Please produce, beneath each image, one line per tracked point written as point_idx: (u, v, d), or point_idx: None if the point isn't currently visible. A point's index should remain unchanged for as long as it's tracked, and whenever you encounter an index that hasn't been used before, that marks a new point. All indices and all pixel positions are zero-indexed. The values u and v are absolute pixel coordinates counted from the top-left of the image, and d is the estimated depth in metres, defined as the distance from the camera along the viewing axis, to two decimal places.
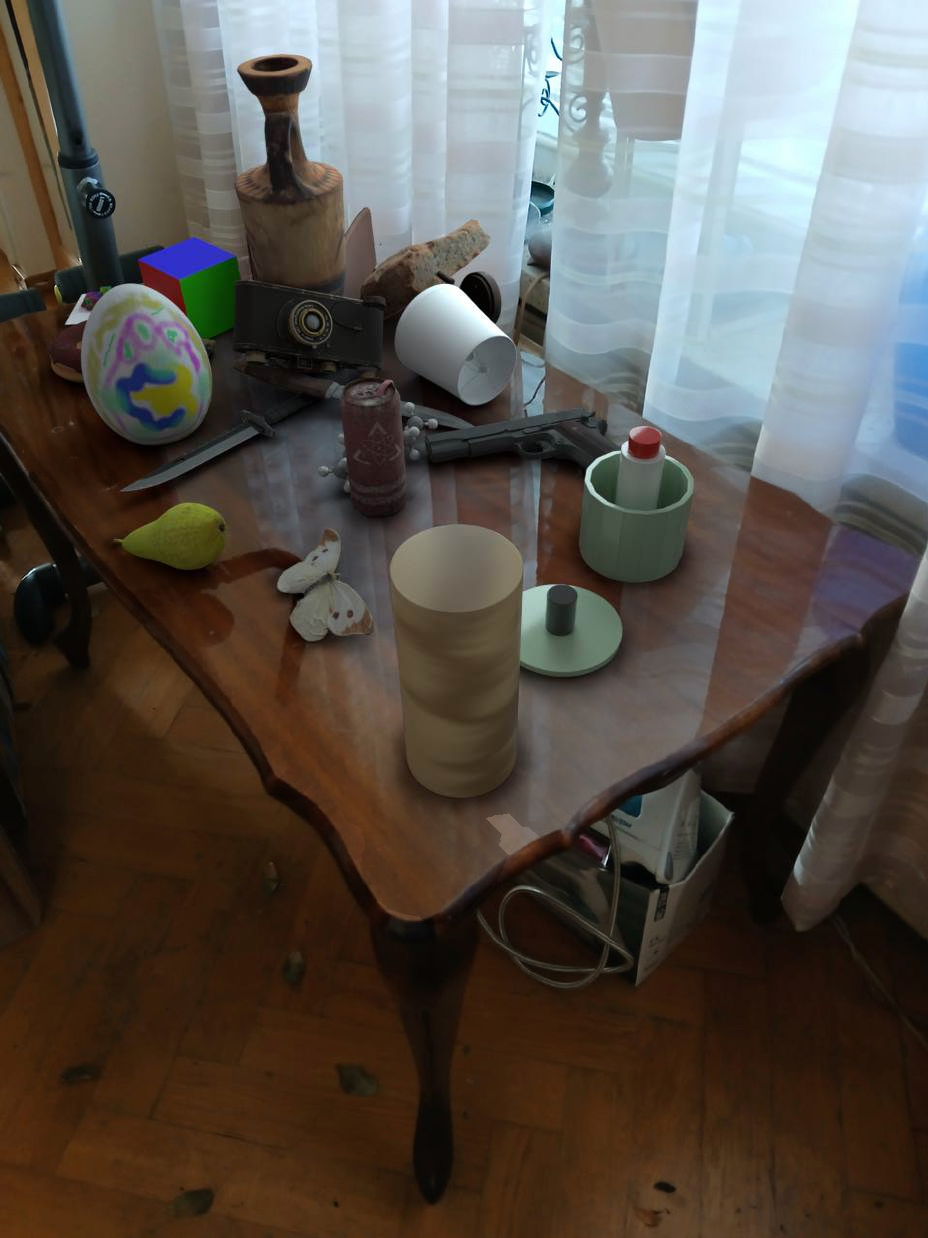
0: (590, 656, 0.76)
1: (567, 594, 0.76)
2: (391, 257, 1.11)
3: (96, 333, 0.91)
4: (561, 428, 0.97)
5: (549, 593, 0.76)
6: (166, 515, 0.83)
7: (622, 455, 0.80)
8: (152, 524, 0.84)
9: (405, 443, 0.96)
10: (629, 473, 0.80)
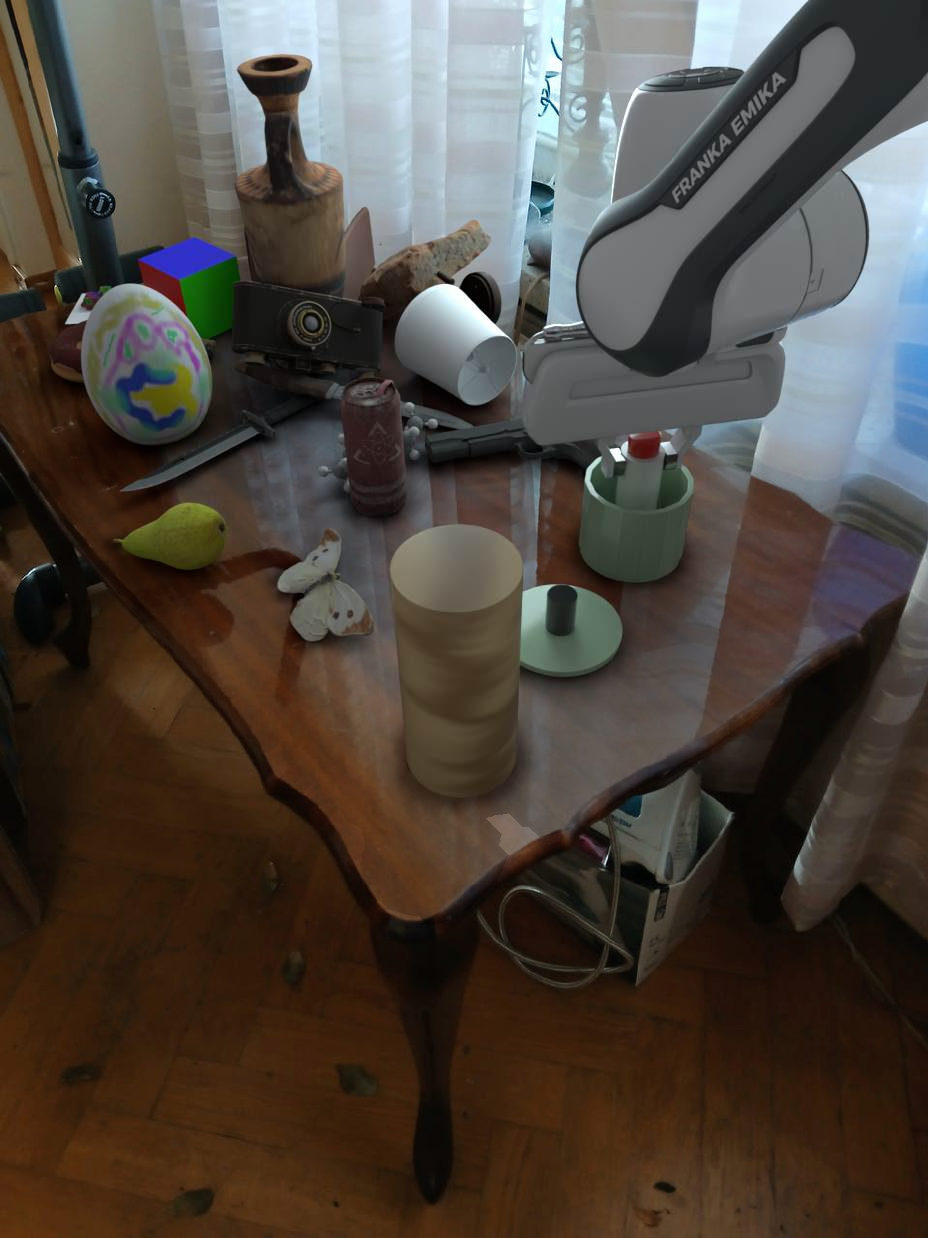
0: (590, 656, 0.76)
1: (567, 594, 0.76)
2: (391, 257, 1.11)
3: (96, 333, 0.91)
4: None
5: (549, 593, 0.76)
6: (166, 515, 0.83)
7: (622, 455, 0.80)
8: (152, 524, 0.84)
9: (405, 443, 0.96)
10: (629, 473, 0.80)
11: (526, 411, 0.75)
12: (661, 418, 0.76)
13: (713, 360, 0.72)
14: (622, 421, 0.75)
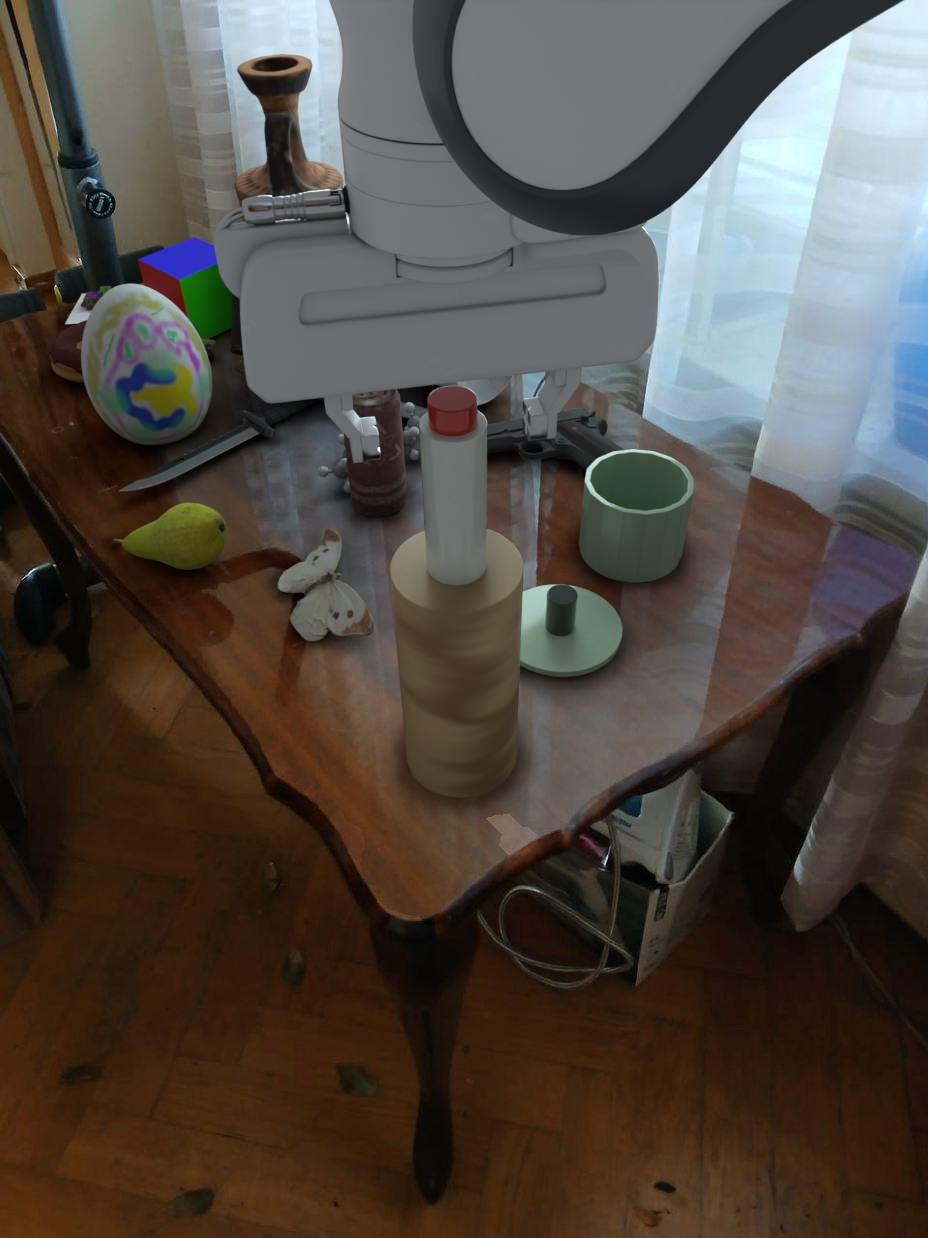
0: (590, 656, 0.76)
1: (567, 594, 0.76)
2: None
3: (96, 333, 0.91)
4: (561, 428, 0.97)
5: (549, 593, 0.76)
6: (166, 515, 0.83)
7: (420, 430, 0.51)
8: (152, 524, 0.84)
9: (405, 443, 0.96)
10: (431, 459, 0.52)
11: (242, 347, 0.46)
12: (464, 360, 0.47)
13: (534, 259, 0.43)
14: (400, 364, 0.47)
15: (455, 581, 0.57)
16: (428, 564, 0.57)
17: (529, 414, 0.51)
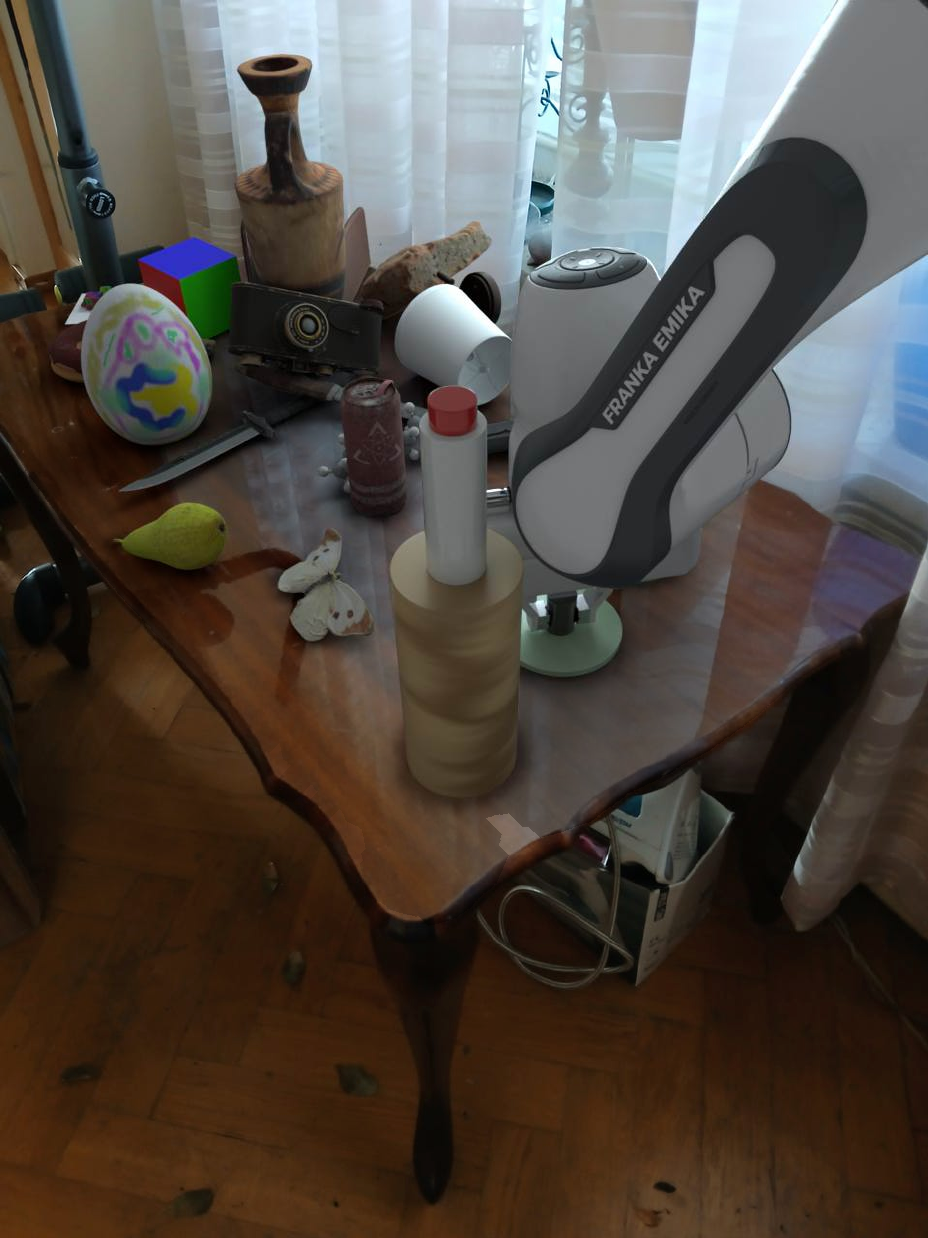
0: (589, 656, 0.76)
1: (567, 594, 0.76)
2: (391, 257, 1.11)
3: (96, 333, 0.91)
4: None
5: None
6: (166, 515, 0.83)
7: (420, 430, 0.51)
8: (152, 524, 0.84)
9: (405, 443, 0.96)
10: (431, 459, 0.52)
11: None
12: (575, 580, 0.73)
13: None
14: (535, 584, 0.72)
15: (455, 581, 0.57)
16: (428, 564, 0.57)
17: (577, 609, 0.77)
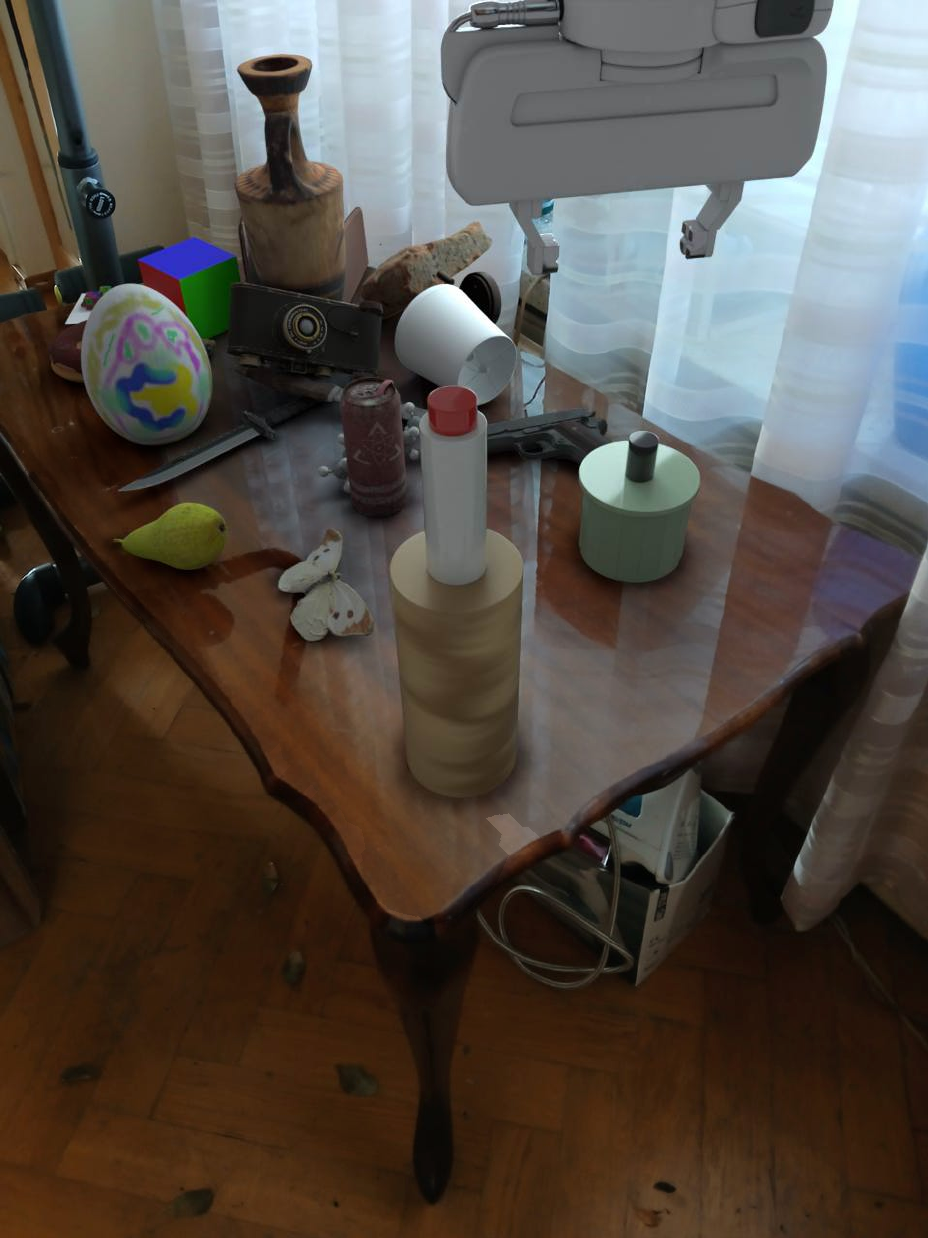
0: (670, 499, 0.79)
1: (649, 439, 0.79)
2: (391, 257, 1.11)
3: (96, 333, 0.91)
4: (561, 428, 0.97)
5: (631, 438, 0.79)
6: (166, 515, 0.83)
7: (420, 430, 0.51)
8: (152, 524, 0.84)
9: (405, 443, 0.96)
10: (431, 459, 0.52)
11: (451, 153, 0.52)
12: (646, 167, 0.53)
13: (722, 64, 0.49)
14: (591, 170, 0.52)
15: (455, 581, 0.57)
16: (428, 564, 0.57)
17: (691, 231, 0.57)
